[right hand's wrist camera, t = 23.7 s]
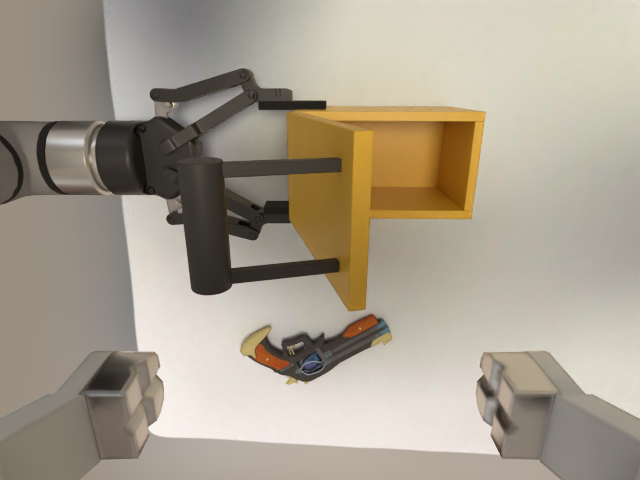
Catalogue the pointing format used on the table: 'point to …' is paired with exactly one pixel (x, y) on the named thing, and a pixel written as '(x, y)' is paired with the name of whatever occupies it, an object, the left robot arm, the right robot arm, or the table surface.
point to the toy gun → (330, 352)
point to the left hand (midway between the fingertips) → (325, 158)
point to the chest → (418, 158)
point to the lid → (304, 209)
